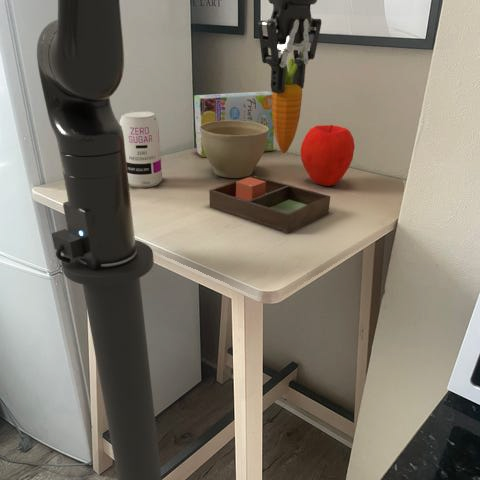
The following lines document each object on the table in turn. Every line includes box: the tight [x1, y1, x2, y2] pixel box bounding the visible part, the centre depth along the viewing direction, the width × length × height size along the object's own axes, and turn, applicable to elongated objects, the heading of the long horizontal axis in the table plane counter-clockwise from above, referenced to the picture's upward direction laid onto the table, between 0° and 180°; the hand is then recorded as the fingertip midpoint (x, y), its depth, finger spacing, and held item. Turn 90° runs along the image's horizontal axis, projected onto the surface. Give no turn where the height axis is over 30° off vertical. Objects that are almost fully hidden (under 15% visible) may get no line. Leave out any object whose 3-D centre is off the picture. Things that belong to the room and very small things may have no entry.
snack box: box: [193, 90, 275, 158], centre depth 135 cm, size 21×6×15 cm, turn 111°
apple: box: [299, 124, 355, 187], centre depth 112 cm, size 12×12×13 cm
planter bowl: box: [200, 120, 269, 179], centre depth 119 cm, size 16×16×11 cm
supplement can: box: [119, 110, 163, 189], centre depth 111 cm, size 8×8×15 cm
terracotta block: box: [236, 176, 266, 201], centre depth 103 cm, size 4×4×4 cm
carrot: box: [272, 58, 303, 154], centre depth 85 cm, size 5×5×15 cm
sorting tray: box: [208, 174, 331, 234], centre depth 101 cm, size 14×20×4 cm
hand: (287, 90), depth 83 cm, fingers closed on carrot, 4 cm apart
